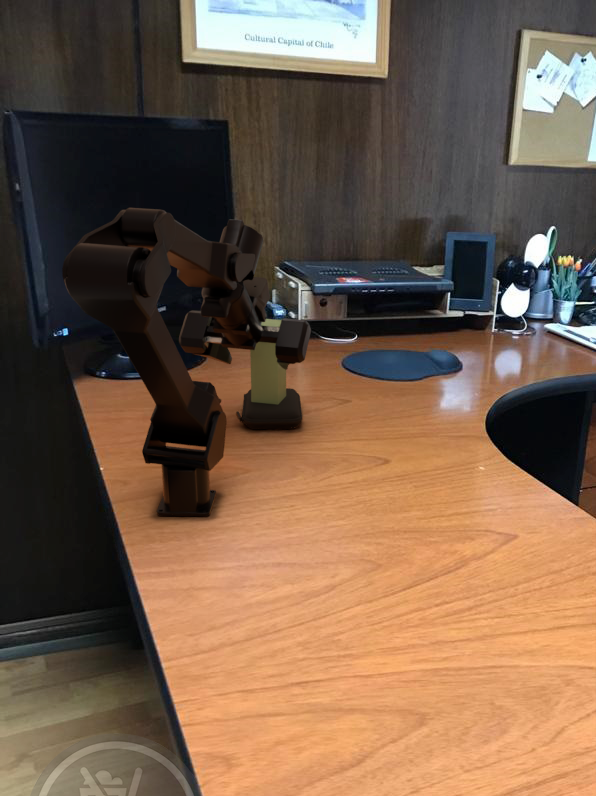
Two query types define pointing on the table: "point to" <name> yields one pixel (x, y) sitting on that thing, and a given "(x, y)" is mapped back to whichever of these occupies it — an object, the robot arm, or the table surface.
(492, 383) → the table surface
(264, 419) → the carrying case
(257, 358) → the block
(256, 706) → the table surface
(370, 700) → the table surface
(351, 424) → the table surface
